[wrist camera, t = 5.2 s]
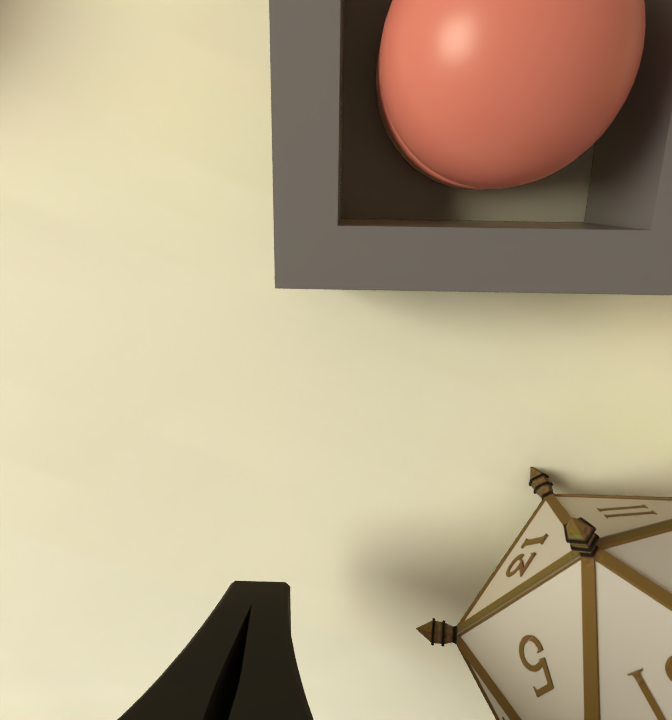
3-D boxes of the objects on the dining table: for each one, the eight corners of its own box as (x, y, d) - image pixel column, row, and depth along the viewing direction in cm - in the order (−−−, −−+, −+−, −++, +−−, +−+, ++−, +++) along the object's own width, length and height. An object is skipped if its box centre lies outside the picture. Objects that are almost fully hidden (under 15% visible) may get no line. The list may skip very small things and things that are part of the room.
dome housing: (626, 273, 13) (702, 295, 10) (291, 268, 13) (275, 288, 11) (696, -138, 11) (819, -257, 8) (286, -137, 11) (263, -255, 8)
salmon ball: (565, 191, 12) (675, 189, 8) (371, 188, 12) (380, 186, 8) (594, -35, 11) (743, -177, 7) (377, -36, 11) (393, -175, 7)
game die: (546, 431, 19) (913, 343, 9) (682, 666, 18) (1247, 829, 8) (323, 574, 15) (548, 657, 6) (475, 872, 14) (1026, 1524, 5)
